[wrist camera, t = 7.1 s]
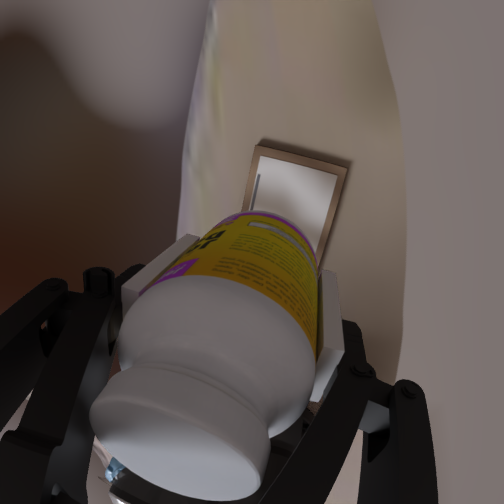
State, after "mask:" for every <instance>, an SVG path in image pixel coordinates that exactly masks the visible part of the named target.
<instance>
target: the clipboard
mask: <svg viewBox="0 0 504 504" xmlns="http://www.w3.org/2000/svg"><path fill="white" fill-rule="evenodd" d="M346 171H347V168H345V167H342V166H339V165H335V164H332V163H328V162H325V161H321V160H317V159H313V158H310V157H306V156H302V155H298V154H294V153H290V152H286V151H282V150H278V149H273V148H269V147H265V146H260V145H255V149H254V153H253V158H252V163H251V167H250V172H249V177H248V182H247V186H246V191H245V196H244V201H243V206H242V211H241V212H243V211H252V210H260V211H267V212H272V213H275V214H278V215H280V216H283V217H285V218H286V219H288V220H290V221H291V222H293V223H294V224H295V225H297V226H298V227H299V228H300V229H301V230H302V231H303V232H304V234H305V235H306V236H307V238H308V239H309V241H310V242H311V244H312V246H313V249H314V251H315V254H316V258H317V266H319V263H320V260H321V256H322V253H323V250H324V247H325V244H326V241H327V237H328V234H329V231H330V227H331V224H332V221H333V217H334V214H335V211H336V207H337V204H338V200H339V197H340V193H341V190H342V186H343V182H344V179H345V175H346Z"/></svg>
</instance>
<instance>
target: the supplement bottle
mask: <svg viewBox="0 0 504 504" xmlns="http://www.w3.org/2000/svg"><path fill="white" fill-rule="evenodd" d="M317 306H318V266H317V258H316V254H315V251H314V249H313V246H312V244H311V242H310V241H309V239H308V238H307V236H306V235H305V234H304V232H303V231H302V230H301V229H300V228H299V227H298V226H297V225H295V224H294V223H293V222H291V221H290V220H288V219H286V218H285V217H283V216H280V215H278V214H275V213H272V212H267V211H260V210H252V211H243V212H240V213H236V214H234V215H231V216H229V217H227V218H225V219H224V220H222V221H221V222H220V223H218V224H217V225H216V226H215V227H213V228H212V229H211V230H210V231H209V232H208V233H207V234H206V235H205V236H204V237H203V238H201V239H200V240H199V241H198V242H197V243H196V244H195V245H194V246H193V247H192V248H191V249H190V250H188V251H187V252H186V253H185V254H184V255H183V256H182V257H181V258H180V259H179V260H178V261H177V262H176V263H175V264H174V265H173V266H172V267H171V268H170V269H169V270H168V271H166V272H165V273H164V274H163V275H162V276H161V277H160V278H159V279H158V280H157V281H156V282H155V283H154V284H153V285H152V286H151V287H150V288H149V289H147V290H146V291H145V292H144V293H143V294H142V295H141V296H140V297H139V298H138V299H137V300H136V302H135V303H134V304H133V305H132V306H131V308H130V309H129V311H128V312H127V314H126V315H125V317H124V320H123V322H122V324H121V328H120V331H119V336H118V357H119V362H120V367H121V370H122V371H121V372H119V373H117V374H116V375H114V376H113V377H112V378H111V379H110V380H109V382H108V384H107V385H106V386H105V388H104V389H103V390H102V392H101V393H100V394H99V396H98V397H97V398H96V400H95V401H94V402H93V404H92V406H91V408H90V411H89V420H90V423H91V427H92V429H93V431H94V433H95V435H96V437H97V438H98V440H99V441H100V442H101V444H102V445H103V446H104V447H105V449H106V450H107V451H108V452H109V453H110V454H111V455H112V456H113V457H114V458H116V459H117V460H118V461H119V462H120V463H121V464H123V465H124V466H125V467H127V468H128V469H129V470H131V471H132V472H134V473H135V474H137V475H139V476H140V477H142V478H143V479H145V480H147V481H149V482H151V483H153V484H155V485H157V486H159V487H162V488H164V489H166V490H169V491H172V492H175V493H178V494H181V495H184V496H188V497H192V498H198V499H203V500H211V501H231V500H238V499H242V498H245V497H248V496H250V495H252V494H253V493H255V492H256V491H257V490H258V489H259V487H260V486H261V484H262V482H263V478H264V474H265V470H266V467H267V463H268V459H269V455H270V451H271V443H270V439H269V438H271V437H274V436H276V435H278V434H280V433H281V432H283V431H284V430H286V429H287V428H289V427H290V426H291V425H292V424H293V423H294V422H295V421H296V420H297V419H298V418H299V417H300V416H301V414H302V413H303V411H304V410H305V408H306V407H307V405H308V403H309V401H310V398H311V395H312V392H313V388H314V381H315V368H316V341H317V311H318V308H317Z"/></svg>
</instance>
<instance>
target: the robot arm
mask: <svg viewBox="0 0 504 504" xmlns="http://www.w3.org/2000/svg"><path fill="white" fill-rule="evenodd" d="M199 240H200V237H198V236H194V235H191V234H186V235H185V236H183V237H182V238H181V239H179V240H178V241H177V242H176V243H174V244H173V245H172V246H171V247H169V248H168V249H167V250H165V251H164V252H163V253H162V254H160V255H159V256H158V257H157V258H155V259H154V260H153V261H152V262H150V263H149V264H148V265H147V266H146V265H143V264H137V265H133V266H131V267H129V268H128V269H127V270H125V272H123V273H121V274H120V276H117V277H116V278H115V274H114V272H113V271H112V270H110V269H109V268H105V267H92V268H89V269H87V270H85V271H84V272H83V281H84V292H83V293H79V292H73V291H69V290H68V284H67V282H66V281H65V280H63V279H60V278H50V279H46V280H44V281H43V282H41V283H40V284H39V285H37V286H36V287H35V288H33V289H32V290H31V291H30V292H29V293H27V294H26V295H25V296H23V297H22V298H21V299H19V300H18V301H17V302H16V303H14V304H13V305H12V306H11V307H10V308H8V309H7V310H6V311H5V312H4V313H2V314H1V315H0V432H1V431H2V429H3V427H5V425H6V424H7V422H8V421H9V420H10V418H11V417H12V415H13V414H14V413H15V412H16V410H17V409H18V407H19V406H20V405H21V404H22V402H23V401H24V400H25V399H26V397H27V396H28V395H29V393H30V392H31V391H32V390H33V392H32V394H31V396H30V399H29V401H28V403H27V406H26V408H25V411H24V414H23V416H22V418H21V421H20V423H19V426H18V428H17V429H16V430H15V431H13V430H8V431H6V432H5V433H4V435H3V436H2V438H1V441H0V504H88V496H87V490H86V480H87V474H88V468H89V462H90V457H91V452H92V447H93V442H94V437H95V433H94V431H93V429H92V427H91V423H90V420H89V411H90V408H91V406H92V404H93V402H94V401H95V400H96V398H97V397H98V396H99V394H100V393H101V392H102V390H103V389H104V388H105V386H106V385H107V382H108V378H109V374H110V371H111V367H112V363H113V360H114V356H115V353H116V349H117V337H118V336H119V331H120V328H121V324H122V322H123V320H124V317H125V315H126V314H127V312H128V311H129V309H130V308H131V306H132V305H133V304H134V303H135V302H136V300H137V299H138V298H139V297H140V296H141V295H142V294H143V293H144V292H145V291H146V290H147V289H149V288H150V287H151V286H152V285H153V284H154V283H155V282H156V281H157V280H158V279H159V278H160V277H161V276H162V275H163V274H164V273H165V272H166V271H168V270H169V269H170V268H171V267H172V266H173V265H174V264H175V263H176V262H177V261H178V260H179V259H180V258H181V257H182V256H183V255H184V254H185V253H186V252H187V251H188V250H190V249H191V248H192V247H193V246H194V245H195V244H196V243H197V242H198V241H199ZM317 308H318V311H317V341H316V368H315V381H314V388H313V392H312V395H311V398H310V401H314V402H319V400H320V399H321V397H322V395H323V403H322V405H321V407H320V408H319V410H318V412H317V413H316V415H315V417H314V415H313V414H312V413H311V412H310V411H309V410H308V409H307V408H305V410H304V411H303V413H302V414H301V416H300V417H299V418H298V419H297V420H296V421H295V422H294V423H293V424H292V425H291V426H290V427H289V428H287V429H286V430H284V431H283V432H281V433H280V434H278V435H276V436H274V437H271V438H269V439H270V443H271V451H270V455H269V459H268V463H267V467H266V470H265V474H264V478H263V482H262V484H261V486H260V487H259V489H258V490H257V491H256V492H255V493H253V494H252V495H250V496H248V497H245V498H242V499H238V500H231V501H211V500H203V499H198V498H192V497H188V496H184V495H181V494H178V493H175V492H172V491H169V490H166V489H164V488H162V487H159V486H157V485H155V484H153V483H151V482H149V481H147V480H145V479H143V478H142V477H140V476H139V475H137V474H135V473H134V472H132V471H131V470H129V469H128V468H127V467H125V466H124V465H123V464H121V463H120V462H119V461H118V460H117V459H116V458H114V457H112V459H111V461H110V464H109V466H108V467H107V469H106V472H105V476H106V478H107V479H108V480H109V481H110V482H112V483H113V484H112V486H111V488H110V490H109V492H108V493H109V495H110V498H111V500H112V502H113V504H324V503H325V501H326V499H327V497H328V495H329V493H330V491H331V489H332V487H333V485H334V483H335V481H336V479H337V477H338V474H339V472H340V470H341V468H342V466H343V463H344V461H345V459H346V457H347V454H348V452H349V450H350V447H351V445H352V442H353V440H354V437H355V435H356V432H357V430H358V429H360V430H363V446H362V460H361V472H360V483H359V492H358V501H357V504H438V489H437V477H436V466H435V457H434V449H433V441H432V434H431V427H430V421H429V416H428V410H427V404H426V399H425V394H424V392H423V390H422V388H421V387H420V386H419V385H418V384H416V383H415V382H413V381H410V380H405V379H402V380H399V381H397V382H396V383H395V385H394V386H392V385H389V384H387V383H385V382H382V381H381V380H379V379H377V378H376V372H375V370H374V368H373V367H372V366H371V365H370V364H368V363H367V361H366V356H365V350H364V345H363V339H362V333H361V329H360V328H359V327H358V325H357V324H356V323H355V322H351V321H347V320H343V319H341V311H340V303H339V294H338V287H337V279H336V273H334V272H330V271H327V270H323V269H322V270H321V274H320V277H319V280H318V306H317ZM43 322H45V325H46V326H45V327H44V328H43V329H41V325H42V323H43ZM33 388H34V389H33Z"/></svg>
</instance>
